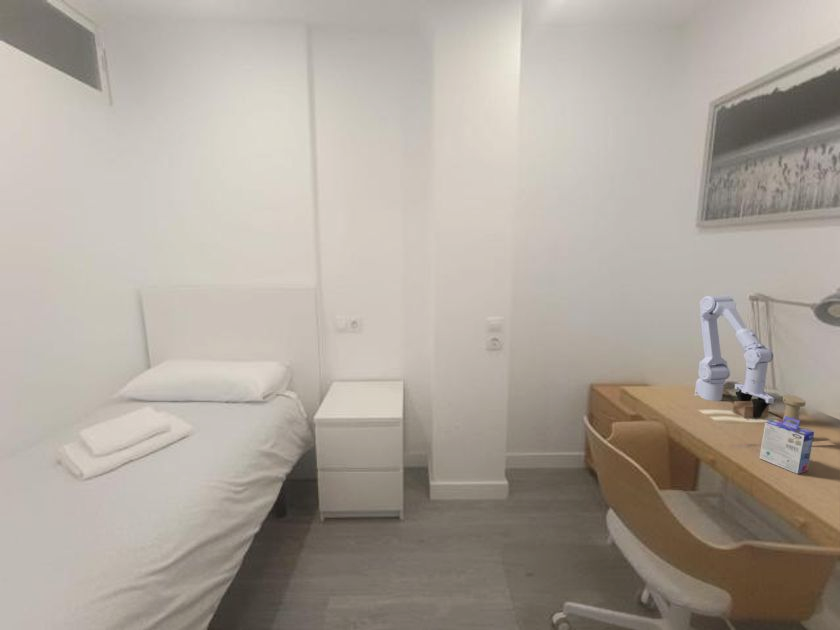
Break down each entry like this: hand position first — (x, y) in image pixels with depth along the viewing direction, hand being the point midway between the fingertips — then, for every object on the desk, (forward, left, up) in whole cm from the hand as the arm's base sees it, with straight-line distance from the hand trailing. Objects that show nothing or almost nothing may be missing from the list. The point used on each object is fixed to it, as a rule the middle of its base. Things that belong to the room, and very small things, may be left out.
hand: (750, 413), depth 149 cm
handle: (+17, -2, -2) cm, 17 cm away
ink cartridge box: (+30, -16, -2) cm, 34 cm away
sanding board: (0, -4, -2) cm, 4 cm away
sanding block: (0, 0, 0) cm, 0 cm away
